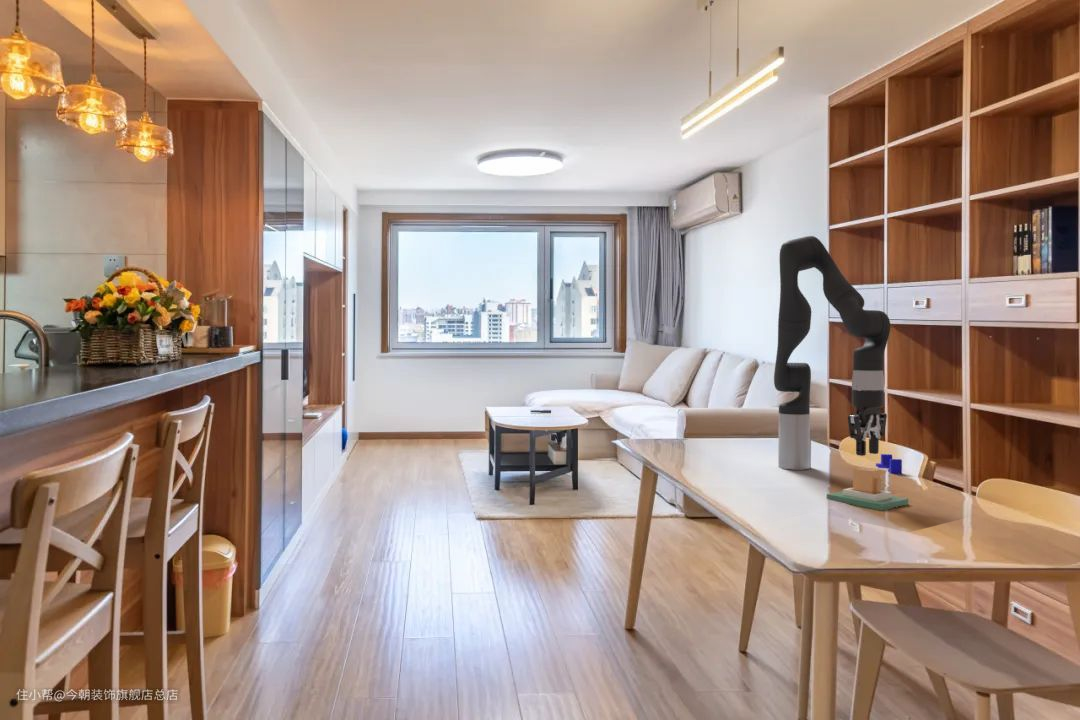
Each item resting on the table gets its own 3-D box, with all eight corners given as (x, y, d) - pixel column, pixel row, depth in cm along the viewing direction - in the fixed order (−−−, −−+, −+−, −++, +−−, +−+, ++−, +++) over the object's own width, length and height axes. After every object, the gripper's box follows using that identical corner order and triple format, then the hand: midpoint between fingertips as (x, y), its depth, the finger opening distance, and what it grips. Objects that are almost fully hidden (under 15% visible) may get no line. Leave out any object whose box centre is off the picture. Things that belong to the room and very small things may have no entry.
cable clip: (875, 472, 230) (875, 453, 230) (890, 473, 230) (890, 454, 229) (885, 479, 219) (885, 459, 219) (901, 479, 218) (901, 459, 218)
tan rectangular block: (861, 494, 187) (862, 467, 187) (883, 497, 182) (883, 470, 182) (853, 495, 184) (853, 468, 184) (874, 499, 180) (874, 471, 180)
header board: (853, 494, 193) (853, 483, 193) (908, 504, 181) (908, 492, 181) (826, 499, 186) (826, 488, 186) (881, 510, 174) (881, 498, 174)
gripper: (870, 386, 190) (869, 450, 190) (837, 388, 182) (837, 454, 182) (897, 388, 184) (896, 454, 184) (865, 389, 176) (864, 458, 176)
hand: (867, 454), depth 183 cm, fingers open, 5 cm apart
